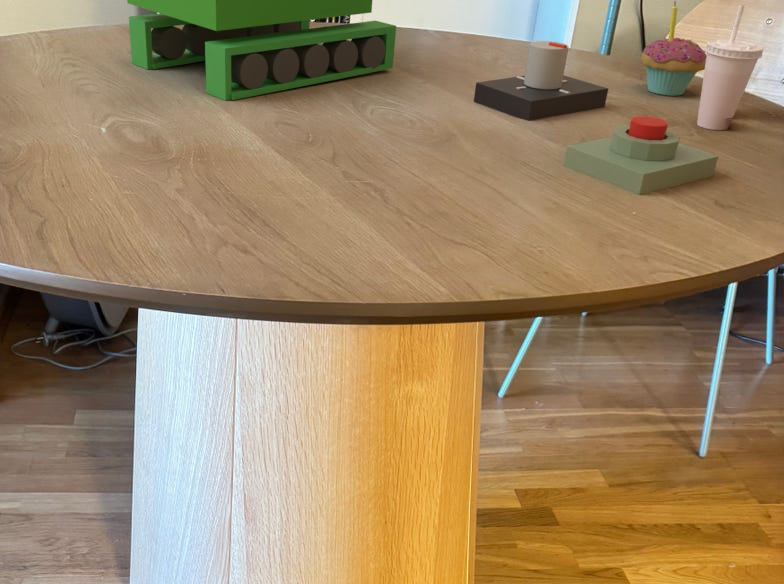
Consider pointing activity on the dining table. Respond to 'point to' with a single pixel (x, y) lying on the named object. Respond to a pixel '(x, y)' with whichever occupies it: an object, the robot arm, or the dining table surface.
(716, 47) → the smoothie
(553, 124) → the dining table surface
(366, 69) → the tank
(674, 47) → the cupcake
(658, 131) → the power button
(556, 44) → the timer dial
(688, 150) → the switch block
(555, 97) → the timer panel
